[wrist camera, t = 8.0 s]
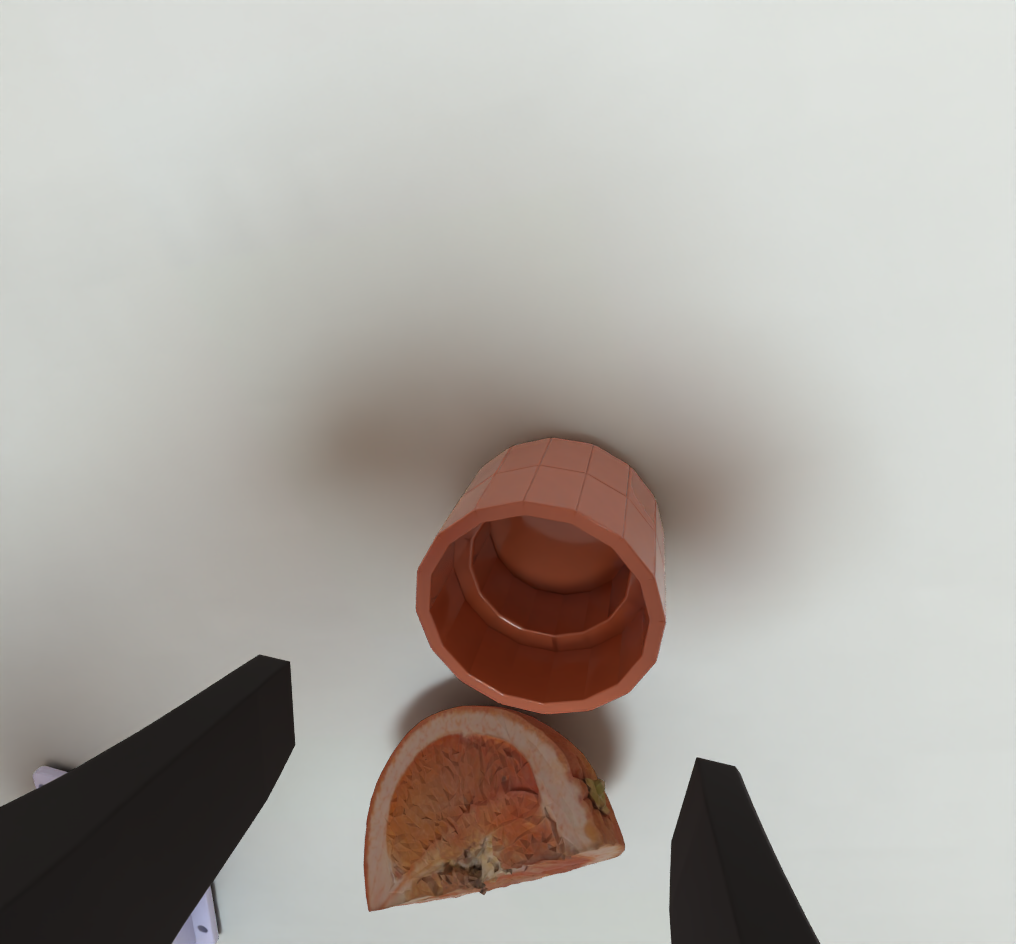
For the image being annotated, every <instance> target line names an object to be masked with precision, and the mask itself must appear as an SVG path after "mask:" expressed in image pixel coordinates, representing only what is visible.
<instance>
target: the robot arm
mask: <svg viewBox="0 0 1016 944" xmlns="http://www.w3.org/2000/svg"><path fill="white" fill-rule="evenodd" d="M294 746H295V734H294V717H293V701H292V685H291V668H290V662H289V661H285V660H280V659H276V658H272V657H268V656H263V655H258V656H256V657H255V658H253V659H252V660H250V661H248V662H247V663H245V664H244V665H242V666H240V667H239V668H237V669H236V670H234V671H233V672H231V673H230V674H228V675H227V676H225V677H223V678H222V679H220V680H219V681H217V682H216V683H214V684H213V685H211V686H210V687H208V688H207V689H205V690H203V691H202V692H200V693H199V694H197V695H196V696H194V697H193V698H191V699H190V700H188V701H186V702H185V703H183V704H182V705H180V706H179V707H177V708H175V709H174V710H172V711H171V712H169V713H167V714H166V715H164V716H163V717H161V718H160V719H158V720H156V721H155V722H153V723H152V724H150V725H148V726H147V727H145V728H144V729H142V730H140V731H139V732H137V733H135V734H134V735H132V736H130V737H128V738H127V739H125V740H123V741H122V742H120V743H118V744H116V745H115V746H113V747H111V748H110V749H108V750H106V751H104V752H103V753H101V754H99V755H97V756H96V757H94V758H92V759H91V760H89V761H87V762H85V763H84V764H82V765H80V766H79V767H77V768H75V769H73V770H71V771H70V772H66V771H62V770H59V769H55V768H52V767H48V766H41V767H39V768H38V769H37V770H36V771H35V772H34V773H33V780H34V783H35V786H36V790H34V791H32V792H29V793H27V794H25V795H23V796H21V797H19V798H17V799H15V800H13V801H11V802H9V803H7V804H5V805H3V806H1V807H0V944H216V943H217V941H218V939H219V935H218V928H217V922H216V916H215V910H214V904H213V898H212V892H211V883H212V882H213V880H214V879H215V878H216V876H217V875H218V873H219V872H220V870H221V869H222V867H223V866H224V864H225V863H226V861H227V860H228V858H229V857H230V855H231V854H232V852H233V851H234V849H235V848H236V846H237V845H238V843H239V842H240V840H241V839H242V837H243V836H244V834H245V833H246V831H247V830H248V828H249V827H250V825H251V824H252V822H253V821H254V819H255V818H256V816H257V814H258V813H259V811H260V810H261V808H262V807H263V805H264V804H265V802H266V801H267V799H268V797H269V795H270V793H271V791H272V789H273V788H274V786H275V784H276V782H277V780H278V778H279V776H280V774H281V772H282V770H283V768H284V766H285V764H286V762H287V760H288V758H289V756H290V754H291V752H292V750H293V748H294ZM669 913H670V929H671V944H820V942H819V940H818V938H817V937H816V935H815V933H814V931H813V929H812V927H811V925H810V923H809V922H808V920H807V918H806V916H805V914H804V912H803V910H802V908H801V906H800V904H799V902H798V900H797V898H796V896H795V894H794V892H793V890H792V888H791V886H790V884H789V882H788V880H787V878H786V876H785V874H784V872H783V870H782V868H781V865H780V863H779V861H778V859H777V857H776V855H775V853H774V851H773V848H772V846H771V844H770V842H769V840H768V838H767V835H766V833H765V831H764V829H763V827H762V824H761V822H760V820H759V817H758V815H757V813H756V811H755V808H754V806H753V804H752V801H751V799H750V796H749V794H748V792H747V789H746V787H745V784H744V782H743V779H742V777H741V774H740V772H739V771H738V770H737V768H736V767H735V766H731V765H727V764H723V763H719V762H714V761H710V760H706V759H702V758H696V761H695V764H694V768H693V771H692V774H691V778H690V781H689V784H688V788H687V791H686V794H685V798H684V801H683V804H682V808H681V811H680V814H679V818H678V821H677V824H676V828H675V831H674V834H673V838H672V841H671V867H670V904H669Z"/></svg>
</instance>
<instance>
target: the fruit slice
mask: <svg viewBox="0 0 1016 944" xmlns="http://www.w3.org/2000/svg"><path fill="white" fill-rule="evenodd" d="M604 790H605V781H603V780H601V779H597V776H596V774H595V771H594V770H593V768H592V767H591V765H590V764H589V762H588V760H587V759H586V757H585V756H584V754H583V753H582V752H581V751H579V750H578V749H577V748H576V747H575V746H574V745H573V744H572V743H571V742H570V741H569V740H567V739H566V738H565V737H564V736H562V735H561V734H560V733H559V732H557V731H555V730H554V729H552V728H551V727H549V726H548V725H547V724H545V723H543V722H541V721H539V720H537V719H535V718H534V717H532V716H529V715H526V714H523V713H521V712H518V711H515V710H512V709H508V708H503V707H497V706H473V705H472V706H458V707H454V708H450V709H447V710H443V711H440V712H438V713H436V714H433V715H431V716H429V717H427V718H425V719H424V720H422V721H420V722H419V723H418V724H417V725H416V726H415V727H414V728H412V729H411V730H410V731H409V732H408V733H407V734H406V735H405V737H404V738H403V739H402V741H401V742H400V743H399V744H398V746H397V747H396V749H395V750H394V752H393V753H392V755H391V756H390V758H389V760H388V762H387V763H386V765H385V767H384V769H383V771H382V773H381V774H380V777H379V779H378V781H377V783H376V786H375V789H374V792H373V795H372V798H371V801H370V807H369V812H368V816H367V823H366V825H367V828H366V835H365V849H364V877H365V889H366V898H367V904H368V910H369V912H370V911H376V910H382V909H386V908H390V907H393V906H400V905H408V904H413V903H423V902H428V901H433V900H439V899H445V898H450V897H454V898H457V897H460V896H463V895H465V894H469V893H474V892H480V893H481V894H483V895H484V894H485V893H486V891H490V890H492V889H495V888H499V887H507V886H509V885H511V884H517V883H521V882H524V881H533V880H537V879H540V878H542V877H545V876H549V875H553V874H557V873H564V872H568V871H571V870H573V869H577V868H580V867H583V866H586V865H590V864H594V863H597V862H601V861H605V860H608V859H611V858H615V857H617V856H619V855H620V854H621V853H622V852H623V851H624V850H625V843H624V840H623V836H622V833H621V831H620V828H619V825H618V823H617V820H616V818H615V815H614V811H613V809H612V807H611V804H610V802H609V799H608V797H607V795H606V793H605V791H604Z"/></svg>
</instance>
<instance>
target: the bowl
mask: <svg viewBox="0 0 1016 944" xmlns="http://www.w3.org/2000/svg"><path fill="white" fill-rule="evenodd" d="M416 612H417V615H418V617H419V620H420V622H421V625H422V627H423V630H424V632H425V635H426V637H427V640H428V642H429V645H430V647H431V648H432V650H433V651H434V652H435V654H436V655H437V656H438V657H439V658H440V659H441V660H442V661H443V662H444V663H445V665H446V666H447V667H448V668H449V669H450V670H451V671H452V672H453V673H454V674H455V676H456V677H457V678H458V679H459V680H461V681H462V682H463V683H465V684H466V685H468V686H470V687H472V688H473V689H475V690H477V691H478V692H480V693H482V694H484V695H485V696H487V697H489V698H491V699H492V700H494V701H496V702H498V703H501V704H502V705H507V706H511V707H515V708H519V709H524V710H528V711H532V712H536V713H541V714H558V713H571V712H584V711H589V710H593V709H595V708H597V707H600V706H602V705H604V704H606V703H608V702H611V701H613V700H615V699H617V698H619V697H622V696H624V695H626V694H628V692H630V691H631V690H632V689H633V688H634V687H635V686H636V684H637V683H638V682H639V681H640V680H641V679H642V678H643V676H644V675H645V674H646V673H647V672H648V671H649V670H650V668H651V667H652V666H653V665H654V664H655V663H656V661H657V658H658V654H659V649H660V645H661V641H662V637H663V633H664V629H665V625H666V588H665V546H664V530H663V526H662V521H661V517H660V513H659V509H658V505H657V502H656V500H655V497H654V495H653V494H652V493H651V491H650V490H649V489H648V488H647V486H646V485H645V484H644V482H643V481H642V480H641V478H640V477H639V476H638V475H637V473H636V472H635V471H634V469H633V468H631V467H630V466H629V465H628V464H627V463H625V462H623V461H621V460H620V459H618V458H616V457H615V456H613V455H611V454H609V453H608V452H606V451H604V450H603V449H601V448H599V447H598V446H595V445H593V444H590V443H584V442H578V441H572V440H566V439H560V438H554V437H553V438H546V439H541V440H536V441H532V442H527V443H522V444H518V445H514V446H512V447H509V448H508V449H506V450H505V451H504V452H502V453H501V454H499V455H498V456H496V457H495V458H494V459H492V460H491V461H489V462H488V463H487V464H485V465H484V466H482V468H481V469H480V470H479V471H478V473H477V474H476V476H475V477H474V479H473V481H472V482H471V484H470V485H469V487H468V488H467V490H466V491H465V493H464V494H463V496H462V497H461V499H460V500H459V502H458V503H457V505H456V506H455V508H454V509H453V511H452V512H451V514H450V515H449V517H448V518H447V520H446V521H445V523H444V525H443V526H442V528H441V529H440V531H439V532H438V534H437V535H436V537H435V539H434V540H433V542H432V544H431V546H430V548H429V549H428V551H427V553H426V555H425V557H424V558H423V560H422V562H421V564H420V566H419V567H418V571H417V587H416Z"/></svg>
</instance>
